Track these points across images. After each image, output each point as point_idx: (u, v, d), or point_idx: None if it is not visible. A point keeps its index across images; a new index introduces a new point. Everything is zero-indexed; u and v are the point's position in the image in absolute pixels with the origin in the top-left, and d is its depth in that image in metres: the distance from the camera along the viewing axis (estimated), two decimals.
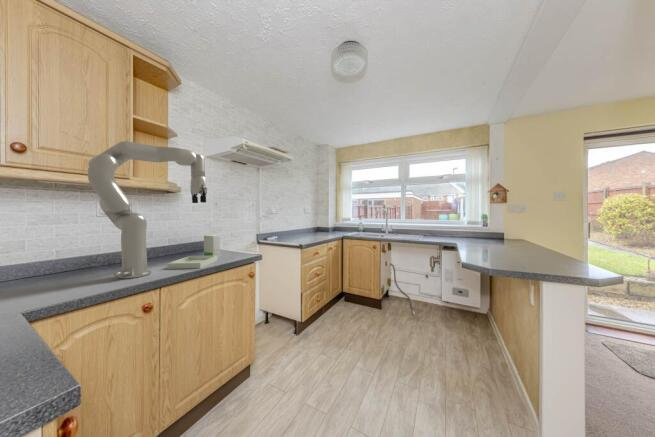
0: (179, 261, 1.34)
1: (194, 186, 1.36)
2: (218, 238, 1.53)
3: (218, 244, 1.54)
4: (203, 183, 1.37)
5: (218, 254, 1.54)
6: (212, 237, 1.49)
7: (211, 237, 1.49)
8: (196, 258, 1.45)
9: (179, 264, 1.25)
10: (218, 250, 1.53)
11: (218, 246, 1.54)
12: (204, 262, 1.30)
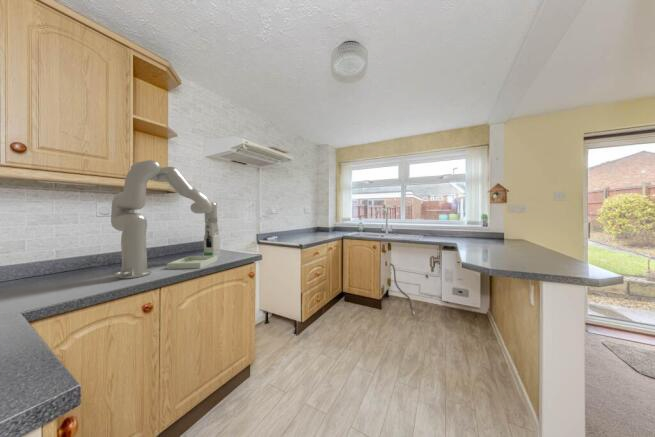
0: (179, 261, 1.34)
1: (216, 231, 1.54)
2: (218, 238, 1.54)
3: (218, 244, 1.54)
4: None
5: (218, 254, 1.54)
6: (212, 237, 1.49)
7: (211, 237, 1.49)
8: (196, 258, 1.45)
9: (179, 264, 1.25)
10: (218, 250, 1.53)
11: (218, 246, 1.54)
12: (204, 262, 1.30)
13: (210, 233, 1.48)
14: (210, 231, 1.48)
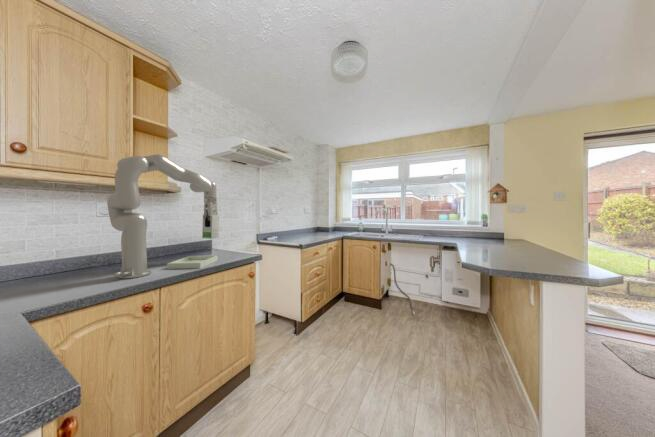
0: (179, 261, 1.34)
1: (215, 211, 1.53)
2: (217, 218, 1.53)
3: (217, 224, 1.53)
4: None
5: (217, 234, 1.53)
6: (211, 217, 1.49)
7: (210, 217, 1.49)
8: (196, 258, 1.45)
9: (179, 264, 1.25)
10: (216, 230, 1.52)
11: (217, 226, 1.53)
12: (204, 262, 1.30)
13: (209, 212, 1.47)
14: (209, 210, 1.47)
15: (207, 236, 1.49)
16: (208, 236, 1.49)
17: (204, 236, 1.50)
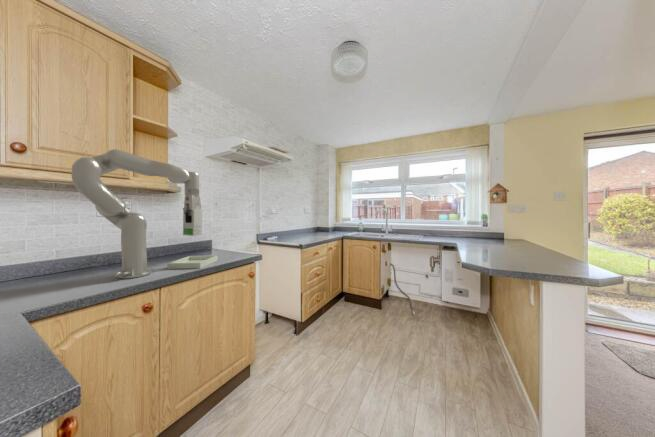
0: (179, 261, 1.34)
1: (197, 205, 1.35)
2: (200, 213, 1.35)
3: (200, 220, 1.35)
4: None
5: (200, 231, 1.35)
6: (192, 211, 1.31)
7: (191, 211, 1.31)
8: (196, 258, 1.45)
9: (179, 264, 1.25)
10: (199, 226, 1.35)
11: (200, 222, 1.35)
12: (204, 262, 1.30)
13: (190, 206, 1.30)
14: (190, 204, 1.30)
15: (188, 233, 1.32)
16: (190, 233, 1.31)
17: (185, 233, 1.32)
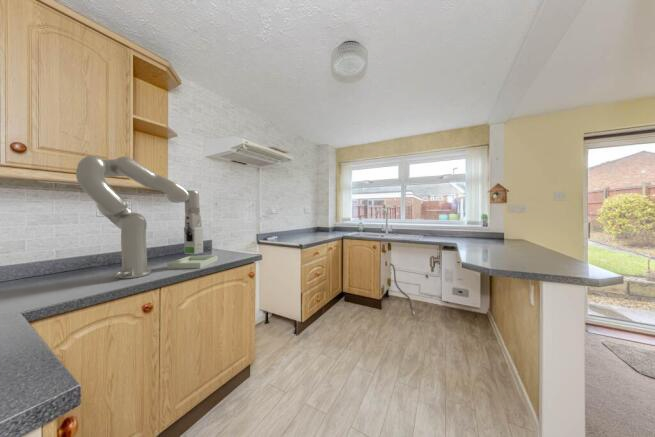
0: (179, 261, 1.34)
1: (198, 223, 1.36)
2: (201, 231, 1.35)
3: (201, 238, 1.35)
4: None
5: (201, 249, 1.36)
6: (193, 230, 1.31)
7: (192, 230, 1.31)
8: (196, 258, 1.45)
9: (179, 264, 1.25)
10: (200, 244, 1.35)
11: (201, 240, 1.35)
12: (204, 262, 1.30)
13: (191, 225, 1.30)
14: (191, 223, 1.30)
15: (190, 251, 1.32)
16: (191, 252, 1.32)
17: (186, 251, 1.33)
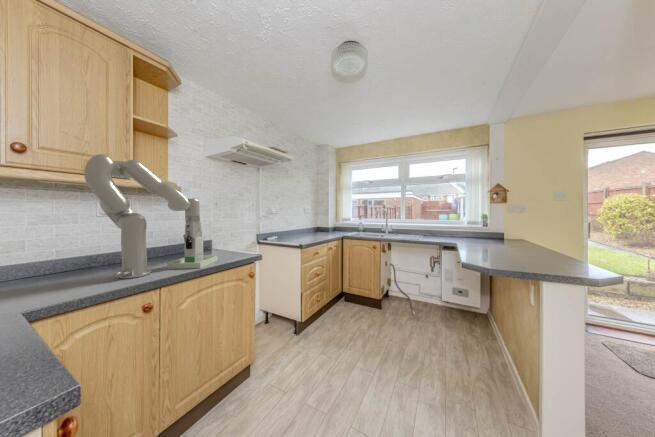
0: (179, 261, 1.34)
1: (198, 231, 1.36)
2: (201, 240, 1.36)
3: (201, 247, 1.36)
4: None
5: (201, 258, 1.36)
6: (194, 239, 1.32)
7: (193, 239, 1.32)
8: None
9: (179, 264, 1.25)
10: (201, 253, 1.36)
11: (201, 249, 1.36)
12: (204, 262, 1.30)
13: (191, 233, 1.30)
14: (191, 231, 1.30)
15: (190, 261, 1.32)
16: (191, 262, 1.32)
17: (186, 261, 1.33)
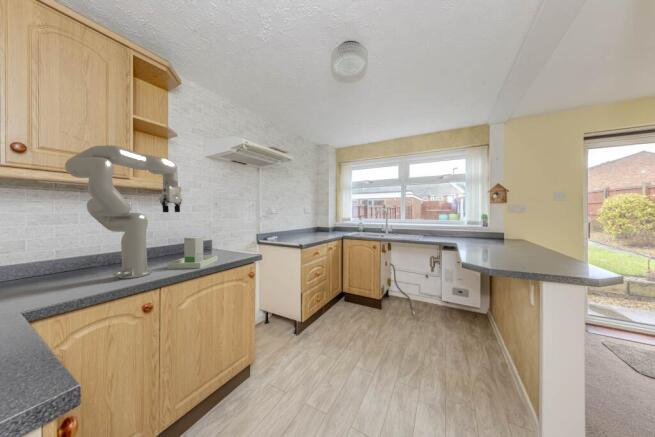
0: (179, 261, 1.34)
1: (176, 196, 1.39)
2: (201, 240, 1.36)
3: (201, 247, 1.36)
4: None
5: (201, 258, 1.36)
6: (194, 239, 1.32)
7: (193, 239, 1.32)
8: None
9: (179, 264, 1.25)
10: (201, 253, 1.36)
11: (201, 249, 1.36)
12: (204, 262, 1.30)
13: (167, 197, 1.33)
14: (167, 195, 1.33)
15: (190, 261, 1.33)
16: (191, 262, 1.32)
17: (186, 261, 1.33)
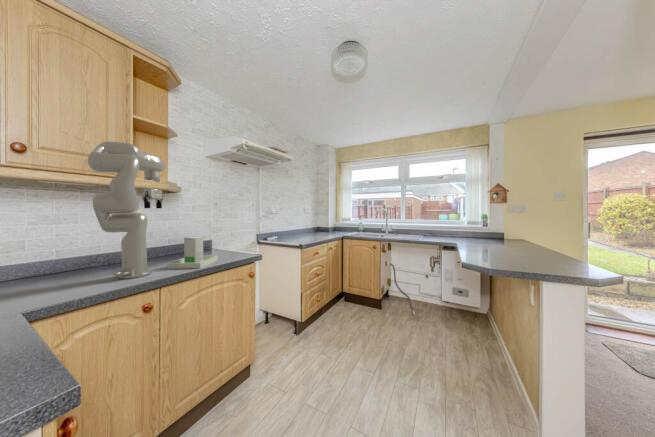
0: (179, 261, 1.34)
1: (158, 192, 1.42)
2: (201, 240, 1.36)
3: (201, 247, 1.36)
4: None
5: (201, 258, 1.36)
6: (194, 239, 1.32)
7: (193, 239, 1.32)
8: None
9: (179, 264, 1.25)
10: (201, 253, 1.36)
11: (201, 249, 1.36)
12: (204, 262, 1.30)
13: (149, 193, 1.37)
14: (149, 191, 1.37)
15: (190, 261, 1.33)
16: (191, 262, 1.32)
17: (186, 261, 1.33)
